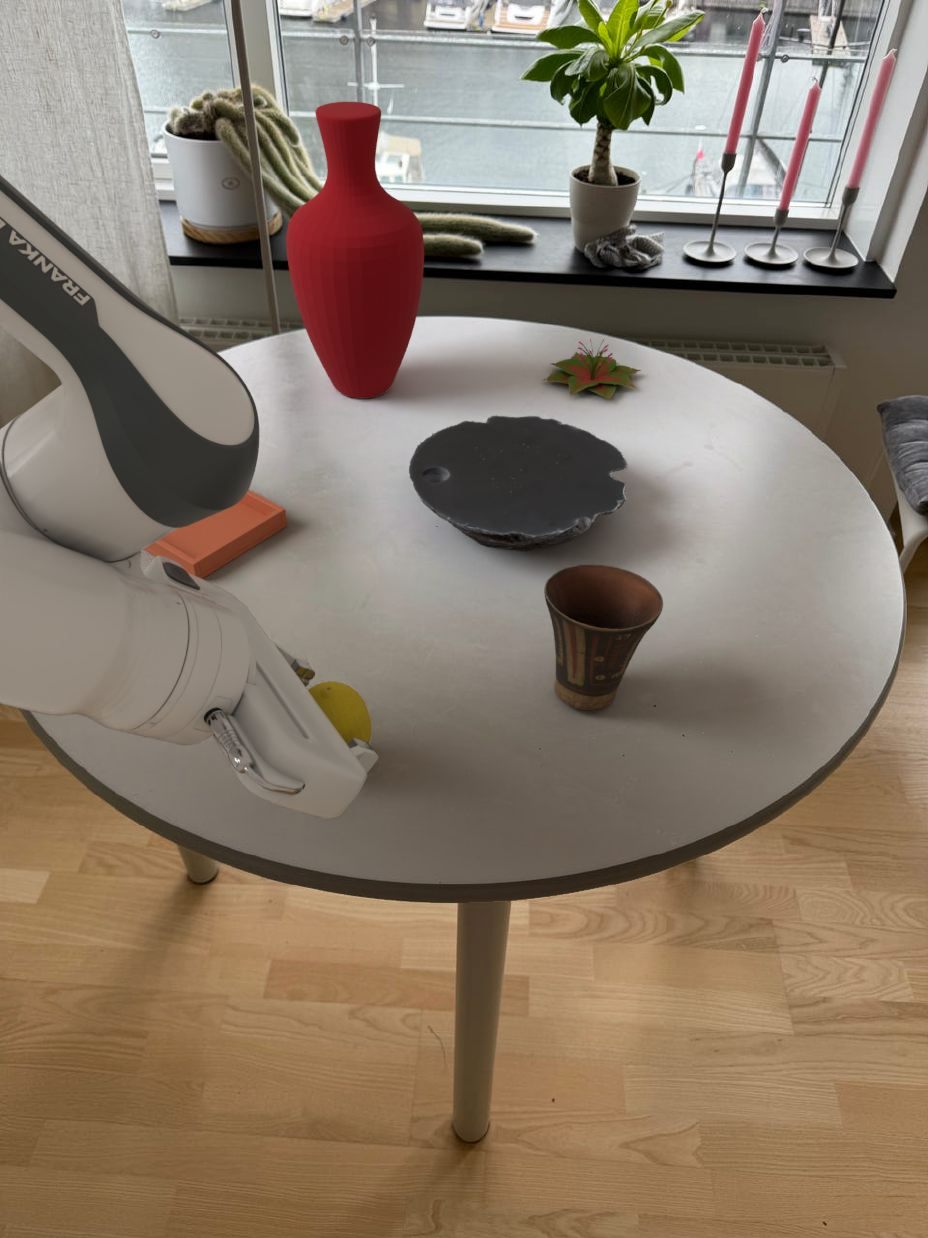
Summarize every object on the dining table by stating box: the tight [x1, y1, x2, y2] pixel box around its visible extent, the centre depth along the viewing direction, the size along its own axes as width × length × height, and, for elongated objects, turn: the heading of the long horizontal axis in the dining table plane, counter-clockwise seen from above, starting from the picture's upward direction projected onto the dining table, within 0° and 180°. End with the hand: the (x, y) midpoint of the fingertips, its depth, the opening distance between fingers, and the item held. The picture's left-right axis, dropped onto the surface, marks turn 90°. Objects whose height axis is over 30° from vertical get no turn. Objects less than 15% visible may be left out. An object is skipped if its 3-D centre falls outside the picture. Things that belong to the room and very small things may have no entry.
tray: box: [143, 489, 288, 579], centre depth 92 cm, size 11×11×2 cm
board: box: [408, 414, 628, 552], centre depth 94 cm, size 22×22×5 cm
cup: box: [543, 563, 664, 711], centre depth 75 cm, size 9×9×10 cm
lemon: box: [307, 681, 372, 745], centre depth 68 cm, size 6×6×8 cm
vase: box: [285, 101, 425, 399], centre depth 105 cm, size 15×15×30 cm
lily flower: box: [542, 338, 642, 401], centre depth 115 cm, size 12×12×5 cm
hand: (336, 715), depth 69 cm, fingers open, 8 cm apart
